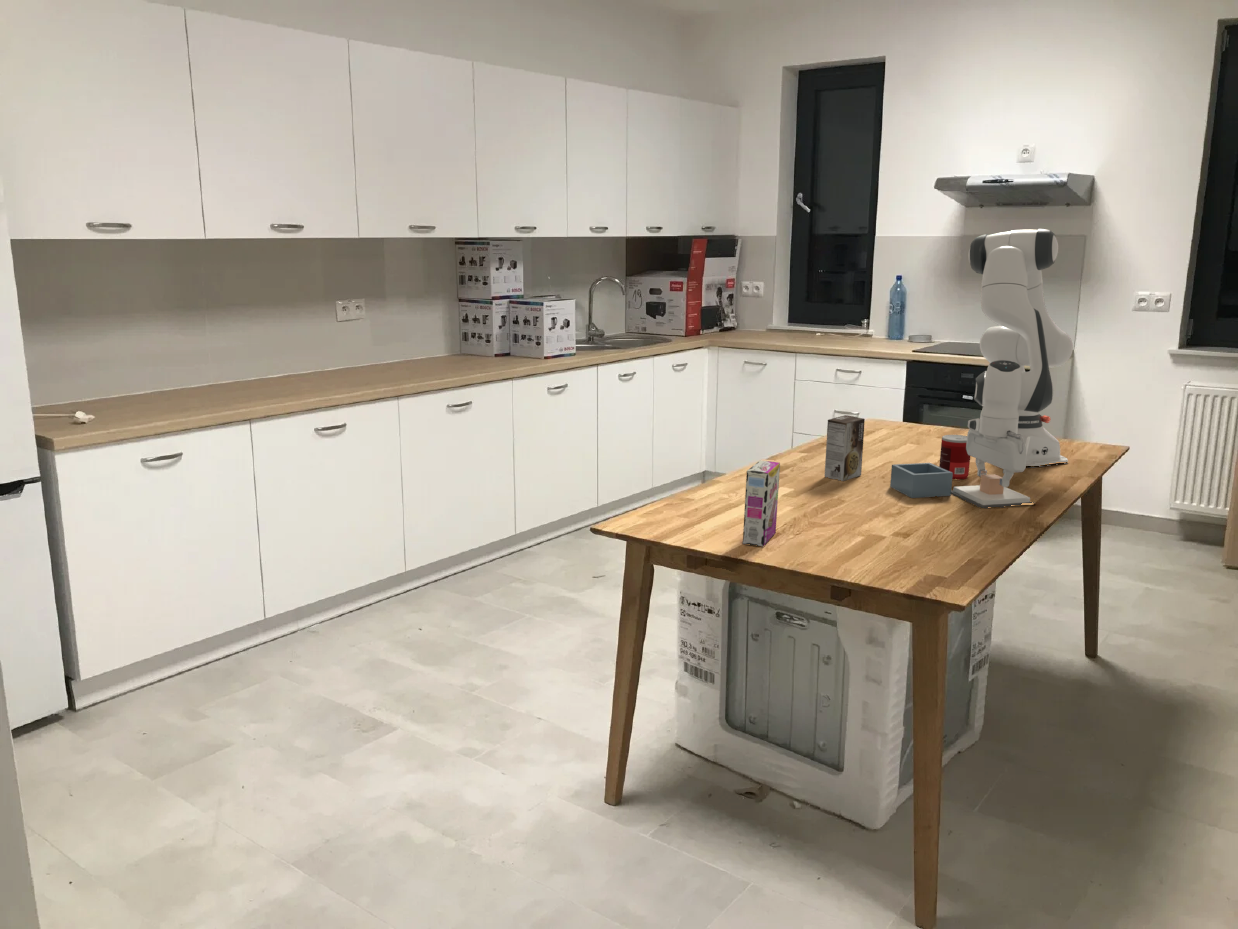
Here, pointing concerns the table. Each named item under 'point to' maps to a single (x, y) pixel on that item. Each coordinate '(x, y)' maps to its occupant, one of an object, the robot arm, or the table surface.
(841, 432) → the coffee box
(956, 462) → the canned food
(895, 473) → the open box
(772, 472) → the candy bar box
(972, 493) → the lid
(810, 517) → the table surface
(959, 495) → the mat
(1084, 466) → the table surface
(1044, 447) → the robot arm
